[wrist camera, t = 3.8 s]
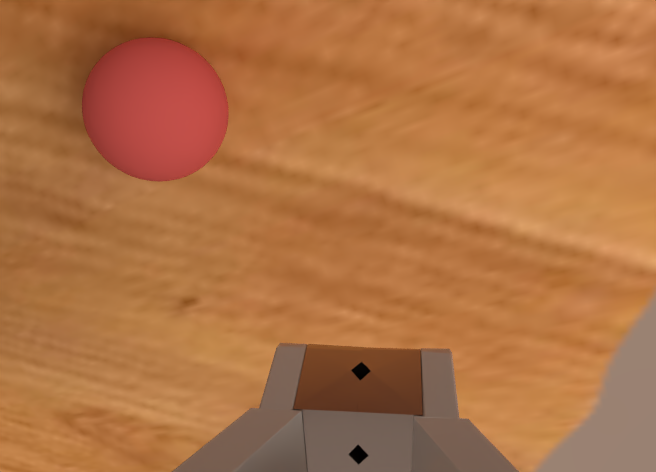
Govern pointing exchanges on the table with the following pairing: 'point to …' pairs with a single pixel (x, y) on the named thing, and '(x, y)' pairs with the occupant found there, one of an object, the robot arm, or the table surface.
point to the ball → (155, 109)
